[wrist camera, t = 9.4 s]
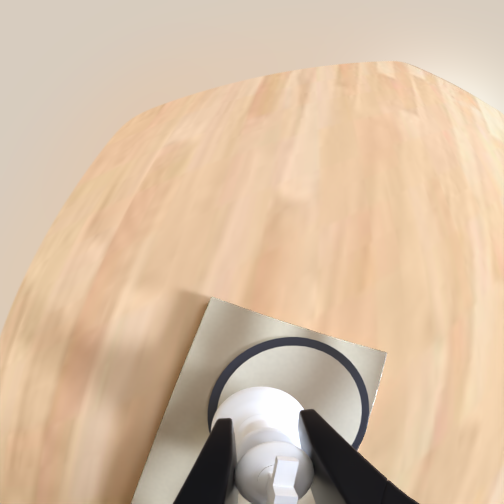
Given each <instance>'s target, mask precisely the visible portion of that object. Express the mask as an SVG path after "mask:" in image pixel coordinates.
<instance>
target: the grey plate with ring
mask: <svg viewBox="0 0 504 504" xmlns="http://www.w3.org/2000/svg"><path fill="white" fill-rule="evenodd" d="M386 356H387V353H386V352H383V351H380V350H376V349H373V348H369V347H365V346H362V345H358V344H355V343H351V342H348V341H345V340H341V339H338V338H335V337H331V336H328V335H325V334H321V333H318V332H315V331H312V330H309V329H305V328H302V327H299V326H296V325H293V324H290V323H287V322H284V321H281V320H278V319H275V318H272V317H269V316H266V315H263V314H260V313H257V312H254V311H251V310H248V309H245V308H242V307H240V306H237V305H234V304H231V303H228V302H226V301H223V300H220V299H217V298H215V297H211V298H210V301H209V303H208V306H207V308H206V311H205V313H204V315H203V318H202V320H201V323H200V325H199V328H198V330H197V333H196V335H195V338H194V340H193V342H192V345H191V347H190V350H189V352H188V355H187V357H186V360H185V362H184V365H183V367H182V370H181V372H180V375H179V377H178V380H177V383H176V385H175V388H174V390H173V393H172V395H171V398H170V400H169V403H168V405H167V408H166V411H165V413H164V416H163V418H162V421H161V424H160V426H159V429H158V431H157V434H156V437H155V439H154V442H153V445H152V447H151V450H150V453H149V455H148V458H147V461H146V463H145V466H144V469H143V471H142V474H141V477H140V479H139V482H138V485H137V488H136V490H135V493H134V496H133V499H132V501H131V504H173V502H174V500H175V498H176V497H177V495H178V493H179V491H180V489H181V488H182V486H183V484H184V482H185V480H186V478H187V476H188V475H189V473H190V471H191V469H192V467H193V465H194V463H195V461H196V459H197V458H198V456H199V454H200V452H201V450H202V448H203V446H204V444H205V442H206V440H207V438H208V436H209V434H210V432H211V425H212V421H213V418H214V415H215V413H216V411H217V409H218V408H219V406H220V405H221V404H222V403H223V402H224V401H225V400H226V399H227V398H228V397H230V396H231V395H233V394H234V393H236V392H238V391H240V390H243V389H246V388H251V387H260V386H262V387H271V388H276V389H279V390H281V391H284V392H286V393H287V394H289V395H291V396H292V397H293V398H294V399H296V400H297V401H298V402H299V404H300V405H301V406H302V408H303V409H304V410H305V409H314V410H315V411H316V412H317V413H318V414H319V415H320V416H321V417H322V418H323V419H324V420H325V421H326V422H327V423H328V424H329V425H330V426H332V427H333V428H334V429H335V430H336V431H337V432H338V433H339V434H340V435H341V436H342V437H343V438H344V439H345V440H346V441H347V442H348V443H349V444H350V445H351V446H352V447H353V448H354V449H355V450H356V451H358V449H359V446H360V444H361V442H362V440H363V437H364V435H365V432H366V429H367V425H368V420H369V417H370V414H371V411H372V407H373V404H374V401H375V397H376V394H377V390H378V387H379V383H380V379H381V376H382V372H383V368H384V364H385V360H386ZM238 504H252V503H250V502H249V501H247V500H246V499H245V498H243V497H242V495H241V494H240V493H238ZM297 504H316V503H315V500H314V497H313V494H312V491H311V488H310V489H309V490H308V492H307V493H306V494H305V495H304V496H303V497H302V498H301V499H300V500H298V501H297Z"/></svg>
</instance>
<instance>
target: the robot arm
mask: <svg viewBox="0 0 504 504" xmlns="http://www.w3.org/2000/svg"><path fill="white" fill-rule="evenodd" d="M298 434H299V439H300V445H301V449H302V450H303V451H304V452H305V453H306V454H307V455H308V456H309V457H310V459H311V461H312V463H313V467H314V479H313V483H312V485H311V487H310V488H311V491H312V494H313V497H314V500H315V503H316V504H419V503H418V502H416V501H415V500H413V499H412V498H410V497H409V496H407V495H406V494H405V493H404V492H402V491H401V490H400V489H399V488H397V487H396V486H395V485H394V484H393V483H392V482H391V481H389V480H388V481H387V478H386V477H385V476H384V475H383V474H381V473H380V472H379V471H378V470H377V469H376V468H375V467H374V466H373V465H371V464H370V463H369V462H368V461H367V460H366V459H365V458H364V457H363V456H362V455H361V454H360V453H359V452H357V451H356V450H355V449H354V448H353V447H352V446H351V445H350V444H349V443H348V442H347V441H346V440H345V439H344V438H343V437H342V436H341V435H340V434H339V433H338V432H337V431H336V430H335V429H334V428H333V427H332V426H330V425H329V424H328V423H327V422H326V421H325V420H324V419H323V418H322V417H321V416H320V415H319V414H318V413H317V412H316V411H315V410H314V409H305V410H301V411H300V412H299V419H298ZM236 465H237V453H236V442H235V433H234V427H233V421H232V419H231V418H219V419H217V421H216V423H215V425H214V427H213V428H212V430H211V432H210V434H209V436H208V438H207V440H206V442H205V444H204V446H203V448H202V450H201V452H200V454H199V456H198V458H197V459H196V461H195V463H194V465H193V467H192V469H191V471H190V473H189V475H188V476H187V478H186V480H185V482H184V484H183V486H182V488H181V489H180V491H179V493H178V495H177V497H176V498H175V500H174V502H173V504H238V493H239V491H238V490H237V488H236V485H235V481H234V472H235V468H236Z"/></svg>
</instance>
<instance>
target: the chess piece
mask: <svg viewBox="0 0 504 504" xmlns="http://www.w3.org/2000/svg"><path fill="white" fill-rule="evenodd" d="M301 410H304V409H303V408H302V406H301V405H300V404H299V402H298V401H297V400H296V399H294V398H293V397H292V396H291V395H289V394H287V393H286V392H284V391H281V390H279V389H276V388H271V387H262V386H260V387H251V388H246V389H243V390H240V391H238V392H236V393H234V394H233V395H231V396H230V397H228V398H227V399H226V400H225V401H224V402H223V403H222V404H221V405H220V406H219V408H218V409H217V411H216V413H215V415H214V418H213V421H212V425H211V430H212V428H213V427H214V425H215V423H216V421H217V419H219V418H231V419H232V421H233V427H234V433H235V442H236V453H237V465H236V468H235V472H234V481H235V485H236V488H237V490H238V491H239V493H240V494H241V495H242V497H243V498H245V499H246V500H247V501H249V502H250V503H252V504H297V501H298V500H300V499H301V498H302V497H303V496H304V495H305V494H306V493H307V492H308V490H309V489H310V487H311V485H312V483H313V479H314V467H313V463H312V461H311V459H310V457H309V456H308V455H307V454H306V453H305V452H304V451H303V450H302V449H301V445H300V439H299V434H298V419H299V412H300V411H301Z"/></svg>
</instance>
